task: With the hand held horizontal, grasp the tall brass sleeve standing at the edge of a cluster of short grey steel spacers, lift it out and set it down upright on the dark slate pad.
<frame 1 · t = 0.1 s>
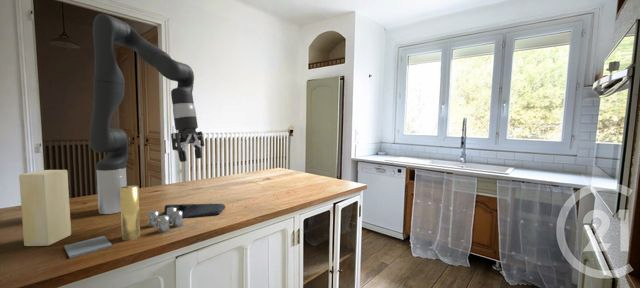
hand: (191, 159, 98), 22 cm above the counter, tool pointing down, fingers open, 8 cm apart
steel spacer A: (153, 225, 92), on the counter
steel spacer D: (171, 221, 95), on the counter
slate pad: (88, 247, 76), on the counter
dark slate chunk: (196, 213, 107), on the counter
steel spacer C: (177, 225, 92), on the counter
cream rectangular block: (47, 240, 79), on the counter
steel spacer B: (163, 231, 87), on the counter
brass sleeve: (131, 237, 82), on the counter
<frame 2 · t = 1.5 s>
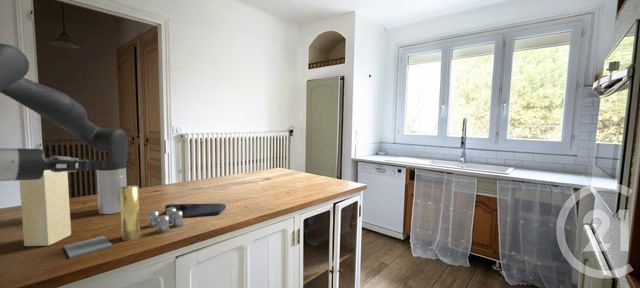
hand: (99, 163, 74), 24 cm above the counter, tool horizontal, fingers open, 8 cm apart
nothing on the counter moved.
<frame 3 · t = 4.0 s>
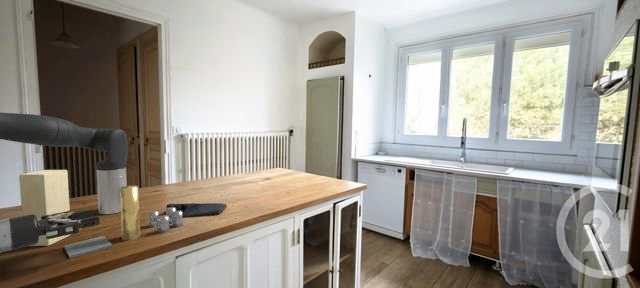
hand: (95, 216, 75), 9 cm above the counter, tool horizontal, fingers open, 8 cm apart
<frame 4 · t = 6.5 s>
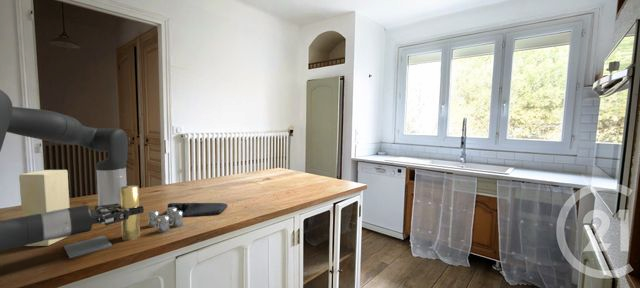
hand: (140, 207, 84), 9 cm above the counter, tool horizontal, fingers closed on brass sleeve, 4 cm apart
brass sleeve: (131, 237, 82), on the counter, touching gripper
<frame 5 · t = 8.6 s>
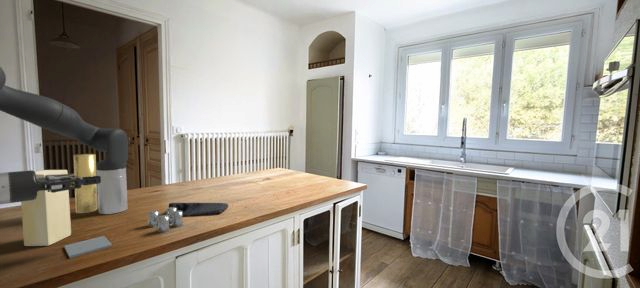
hand: (97, 178, 76), 20 cm above the counter, tool horizontal, fingers closed on brass sleeve, 4 cm apart
brass sleeve: (86, 210, 75), point 11 cm above the counter, touching gripper
when the fingers open (11 cm above the counter, at t = 10.7 s): brass sleeve drops 1 cm, resting on slate pad.
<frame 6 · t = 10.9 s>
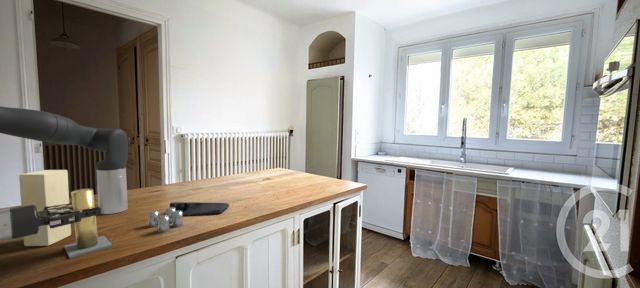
hand: (97, 207, 77), 11 cm above the counter, tool horizontal, fingers open, 6 cm apart
brass sleeve: (87, 244, 75), point 1 cm above the counter, touching slate pad
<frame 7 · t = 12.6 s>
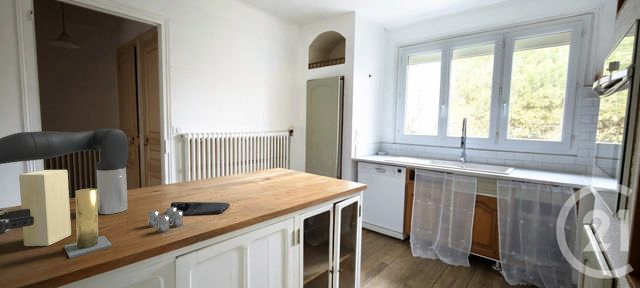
hand: (31, 216, 66), 12 cm above the counter, tool horizontal, fingers open, 8 cm apart
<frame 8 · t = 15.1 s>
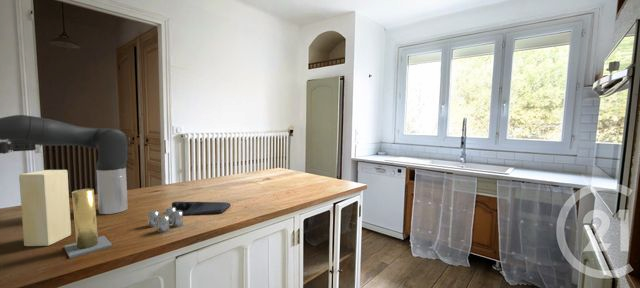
hand: (34, 144, 68), 30 cm above the counter, tool horizontal, fingers open, 8 cm apart
at the end: brass sleeve inside the target area on the slate pad (0.1 cm from its centre), point 0.7 cm above the slate pad's base; brass sleeve tilted 1°; the gripper is holding nothing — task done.
